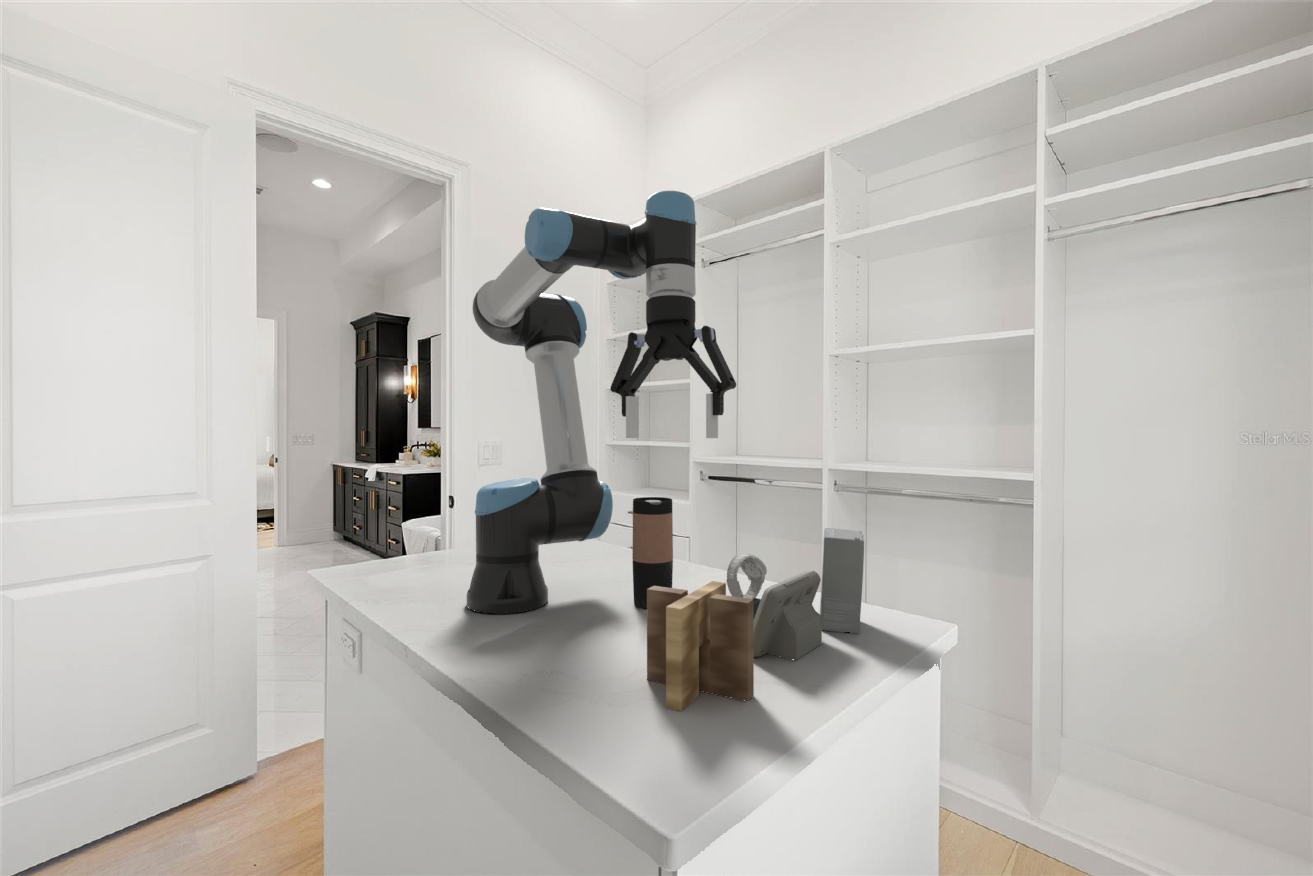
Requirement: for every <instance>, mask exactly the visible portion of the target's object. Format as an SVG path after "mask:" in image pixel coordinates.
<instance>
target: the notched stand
mask: <svg viewBox="0 0 1313 876" xmlns="http://www.w3.org/2000/svg"><path fill="white" fill-rule="evenodd" d="M688 591H689V589H681V588H673V587H672V588H668V587H660V586H652V587H650V588H648V589H647V610H646V680H647V681H651V682H656V683H660V684H665V685H666V607H667V606H668V605H670V604H672V603H674V602H676V601H677V600H679V599H681V598H683V597H685V596H687V595H688V594H689V592H688ZM754 658H755V657H754V599H750V598H742V597H735V596H732V595H728V594H726V595H720V594H715V595H714V596H712V597H710V640H707V641H706V642H705V643H703V644H702V645H701V646H700V647H699V692H701V691H704V692H703V693H705V692H708V693H707V694H710V693H713V694H712V695H714V694H717V695H716V696H719V695H721V696H720V697H724V696H727V697H726V698H728V697H732V698H731V699H733V698H735V699H734V700H737V699H739V700H738V701H742V700H745V701H744V702H746V701H748V702H749V701H750V700H751V699H752V698H753V697H754V693H755V692H754V691H755V689H754V688H755V687H754V682H755V681H754V680H755V679H754V678H755V677H754V676H755V675H754V669H755V668H754V663H755V661H754V660H755V659H754ZM752 696H753V697H752ZM751 697H752V698H751Z"/></svg>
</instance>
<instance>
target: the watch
mask: <svg viewBox="0 0 1313 876" xmlns="http://www.w3.org/2000/svg"><path fill="white" fill-rule="evenodd" d="M740 568H741V570H742V572H743V573H744V574H745V576H747V579H748V580H749V581H750V584H749V587H748V589H747V591H746V592H745V593H744V592H743V591H742V589H741V585H740V581H738V572H739V569H740ZM767 571H768V569H767V566H766V565H765V563H764V562H763V560H761V559H760V558H759V557H758V556H756V555H753V554H743V553H739V554H737V555H734V557H732V559H731V560H730V562H729V564H728V567H727V570H726V580H725V581H726V586H727V588H728V591H729V594H730V596H735V597H742V598H750V599H754V618H755V615H756V612H757V609H758V606H759V604H760V601H761V598H757V596H758V595H759V593H760V592H761V590H762V587H763V584H764V583H765V579H766V575H767Z"/></svg>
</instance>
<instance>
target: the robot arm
mask: <svg viewBox="0 0 1313 876" xmlns="http://www.w3.org/2000/svg"><path fill="white" fill-rule="evenodd" d="M695 210H696V207H695V201H694V199H693V198H692V196H690V195H689V194H688V193H685V192H682V191H678V190H662V191H658V192H654V193H652V194H651V195H649V196H648V198H647V200H646V203H645V210H644V215H645V218H644V219H642V220H641V221H639V222H637V223H635V224H633V225H631V224H626V223H621V222H615V221H612V220H608V219H607V220H606V219H601V218H597V217H591V216H586V215H583V214H577V213H573V212H568V211H564V210H562V209H554V208H553V209H552V208H545V207H538V208H535V209H534V210H532V211H531V212H530V214H529V215H528V221H527V222H526V224H525V230H524V247H523V248H522V249H521V250H520V252H518V254H517V255H516V256H515V257H514V258H513V259H512V260H511V261H510V263H509V264H508V265H507V266H506V267H505V268H504V269H503V270H502V271H501V273H500V274H499V275H498V276H497V277H496V278H495V279H491V280H489V281H487V282H485V283H483V285H482V286H481V287H480V288H479V289H478V291H477V292H476V294H475V295H474V298H473V300H472V314H473V318H474V321H475V322H476V324H477V326H478V328H479V329H480V330H481V331H482V332H483V334H485V335H486V336H487V337H488V338H489V339H491V340H493V341H495V342H497V343H499V344H503V345H507V346H514V347H515V346H517V347H524V351H525V353H524V354H525V358H526V359H527V360H528V361H529V362H531V363H532V364H533V365H534V367H533V368H534V376H535V382H536V383H535V384H536V391H537V400H538V405H539V406H538V408H539V417H540V422H541V433H542V441H543V447H544V448H543V449H544V455H545V464H546V465H545V466H546V470H545V472H544V474H543V475H542V476H541V478H540V482H539V481H538V479H537V478H531V477H529V478H527V477H526V478H519V479H517V478H516V479H514V478H513V479H506V480H502V481H497V482H493V483H489V484H485V485H483V486H482V487H480V489H479V490H478V491H477V493H476V495H475V496H476V498H475V499H476V500H475V509H474V515H475V555H476V556H475V566H474V569H473V574H472V577H471V581H470V584H469V588H468V589H467V592H466V607H467V606H468V607H469V608H470V609H473V610H475V611H479V612H478V613H480V612H485V613H484V614H488V613H494V614H493V615H505V613H508V614H515V613H517V612H518V613H523V612H522V611H524V612H528V611H527V610H529V611H532V610H531V609H533V610H535V609H538V607H539V608H541V607H543V606H544V605H543V604H545V605H546V604H547V603H548V602H549V590H548V589H549V588H548V586H547V584H546V582H545V578H544V575H543V571H542V568H541V565H540V560H539V559H540V558H539V556H540V555H539V548H540V546H541V545H551V544H557V543H560V544H561V543H569V542H570V543H571V542H584V541H587V540H593V539H597V538H599V537H601V536H603V534H605V532H606V531H607V529H608V528H609V526H610V525H609V524H610V522H611V519H612V516H613V507H614V503H613V494H612V490H611V489H610V488H609V487H610V486H609V485H608V484H607V483H606V482H604V481H600V480H599V478H598V471H597V470H596V469H595V468H593V467H592V466H591V465H590V464H589V459H588V451H587V445H586V436H585V429H584V423H583V417H582V410H581V401H580V395H579V389H578V388H579V386H578V380H577V374H576V366H575V358H577V356H578V355H579V354H580V349H581V348H583V346H584V345H585V343H586V342H585V341H586V340H587V338H586V337H587V334H586V331H587V330H588V329H587V328H588V327H587V326H588V325H587V324H588V323H587V317H586V314H585V311H584V308H583V307H582V305H581V304H580V303H579V302H578V301H577V300H576V299H574V298H572V297H568V296H563V295H561V294H547V293H544V292H546V291H547V290H548V289H549V288H550V287H551V286H552V285H553V284H554V283H556V281H558V280H559V279H560V278H561V277H562V276H564V275H565V274H566V272H568V271H570V269H571V268H572V267H574V266H577V267H579V266H580V267H586V268H592V269H598V270H603V271H604V270H605V271H608V273H610V274H611V275H613V276H614V277H615V278H617V279H620V280H621V279H622V280H629V279H634V278H637V277H641V276H642V275H646V276H645V277H646V278H645V284H646V285H645V287H646V288H645V292H646V293H645V294H646V295H645V296H646V297H648V299H647V300H646V302H645V322H646V328H647V329H646V332H645V334H643V333H641V334H640V333H635V332H633V331H632V332H629V333H628V335H627V344H626V345H627V346H626V349H625V352H624V354H623V356H622V359H621V361H620V363H619V366H618V367H617V370H616V372H615V376H614V377H613V381H612V382H611V386H610V388H609V389H610V391H611V392H612V393H616V394H618V395H620V398H621V415H622V417H625V438H626V439H639V438H640V436H639V435H640V434H639V433H640V432H639V431H640V428H639V427H640V425H639V424H640V420H639V419H640V418H639V415H640V414H639V413H640V412H639V411H640V410H639V408H640V403H639V400H640V397H639V396H636V393H637V391H638V390H639V389H640V387H641V386H642V384H643V382H645V380H646V378H647V377H648V376H649V375H650V373H651V372H652V370H654V367H655V366H656V365H658V364H659V362H660V361H665V362H669V361H671V360H677V361H683V360H685V361H687V363H688V364H689V365H690V366H691V368H692V369H693V370H694V371H695V373H696V374H697V375H698V376H699V378H700V379H701V380H702V381H703V382H704V384H706V386H707V387H708V388H709V390H710V391H709V392H710V393H705V406H706V407H705V438H706V439H719V416H723V414H724V412H725V411H724V410H725V409H724V408H725V407H724V405H725V403H724V401H725V398H724V395H725V393H726V392H728V391H729V390H734V389H736V387H737V382H736V380H735V378H734V376H733V374H732V371H731V369H730V367H729V366H728V363H727V361H726V359H725V357H724V355H723V353H722V351H721V349H720V347H719V345H718V342H717V335H716V330H715V328H713V327H710V326H709V325H703V326H702V327H701V328H699V329H696V300H695V299H694V297H695V296H696V293H697V292H696V290H697V288H696V287H697V286H696V242H697V241H696V239H697V238H696V237H697V235H696V232H697V231H696V230H697V226H696V225H697V221H696V211H695ZM698 339H699V341H700V343H702V344H703V347H704V349H705V351H706V353H707V355H708V357H709V360H710V361H711V364H712V366H713V367H714V370H715V372H716V374H717V376H718V377H716V375H715V374H714V372H712V370H711V369H710V368H709V367H708V365H707V364H706V363H705V362H704V361H703V360H702V358H701V357H700V354H699V353H698V351H696V349H695V348H694V347H693V346H694V344H695V343H696V341H697V340H698ZM645 343H646V345H647V346H648V347H647V349H646V350H645V352H644V353H643V355H642V359H641V361H640V362H639V363H638V364H637V361H638V359H639V357H640V355H641V351H642V349H643V347H645ZM636 364H637V366H636ZM635 366H636V367H635ZM547 601H548V602H547ZM546 602H547V603H546ZM542 605H543V606H542ZM540 606H541V607H540ZM470 609H469V610H470ZM475 611H474V612H475ZM495 613H496V614H495Z"/></svg>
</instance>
